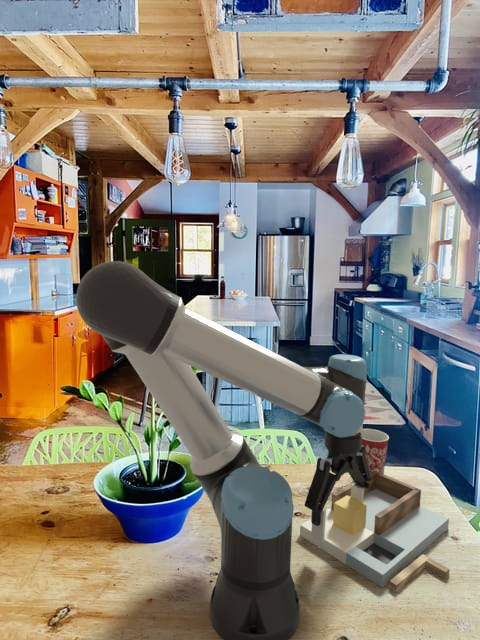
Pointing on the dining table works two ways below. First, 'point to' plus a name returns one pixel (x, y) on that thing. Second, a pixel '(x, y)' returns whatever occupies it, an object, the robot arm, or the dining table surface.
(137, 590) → the dining table surface
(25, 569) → the dining table surface
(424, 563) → the crook tool
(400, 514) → the cubby
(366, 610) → the dining table surface
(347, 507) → the block
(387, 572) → the board
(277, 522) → the robot arm
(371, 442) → the mug
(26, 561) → the dining table surface
